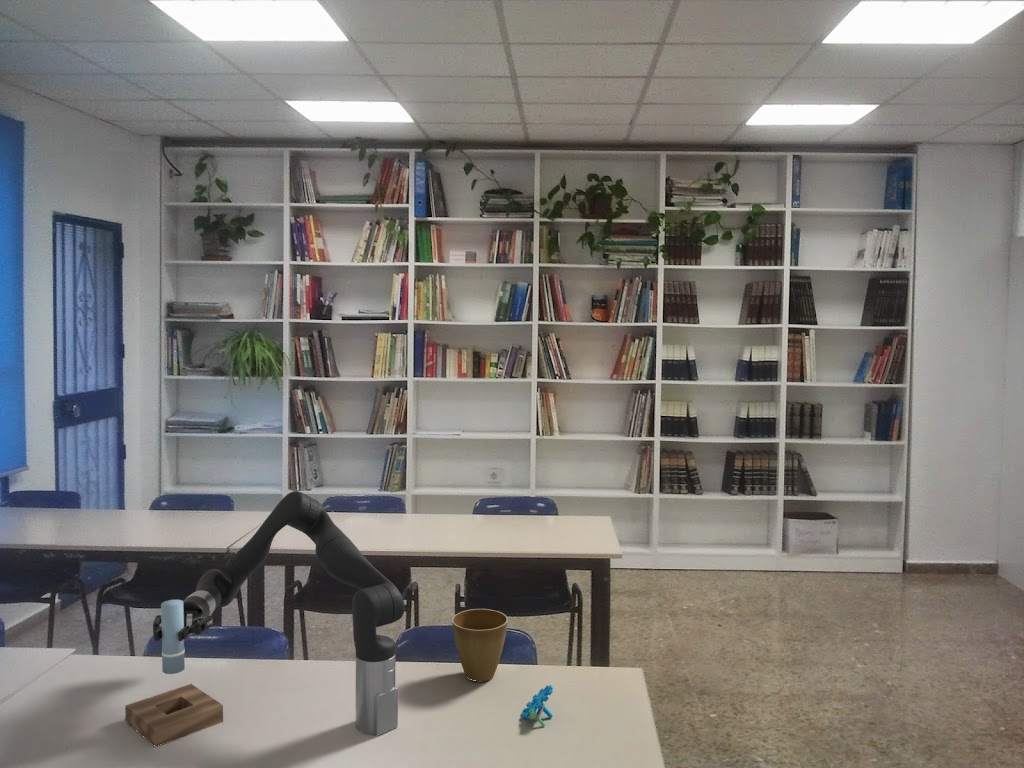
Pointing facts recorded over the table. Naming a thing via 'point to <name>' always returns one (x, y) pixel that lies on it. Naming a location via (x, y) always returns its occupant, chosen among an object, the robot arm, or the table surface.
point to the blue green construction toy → (538, 705)
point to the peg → (172, 636)
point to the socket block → (173, 714)
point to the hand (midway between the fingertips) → (168, 636)
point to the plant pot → (479, 641)
